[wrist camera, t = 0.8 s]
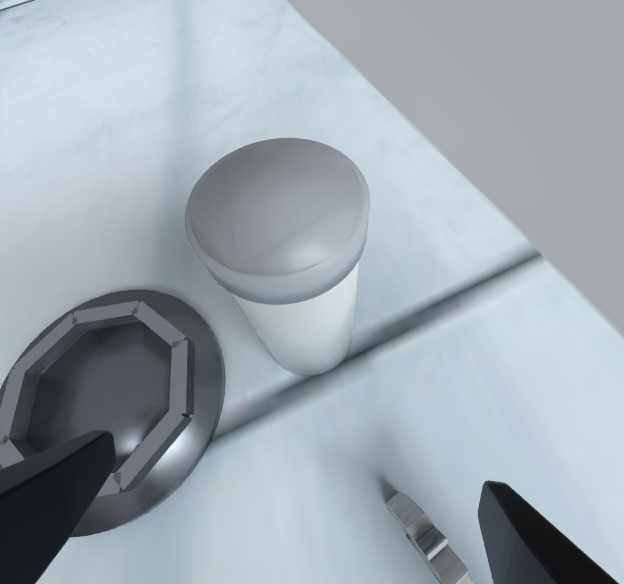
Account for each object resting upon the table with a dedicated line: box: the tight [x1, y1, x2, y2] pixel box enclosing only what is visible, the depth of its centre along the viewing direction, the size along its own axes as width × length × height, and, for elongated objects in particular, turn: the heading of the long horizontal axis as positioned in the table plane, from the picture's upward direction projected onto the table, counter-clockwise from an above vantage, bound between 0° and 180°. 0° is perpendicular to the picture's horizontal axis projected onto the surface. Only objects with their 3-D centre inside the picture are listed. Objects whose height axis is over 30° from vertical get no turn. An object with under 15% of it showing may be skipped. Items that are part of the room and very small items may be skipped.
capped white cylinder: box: [185, 138, 370, 376], centre depth 17 cm, size 6×6×13 cm
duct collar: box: [0, 290, 225, 537], centre depth 21 cm, size 15×15×2 cm
